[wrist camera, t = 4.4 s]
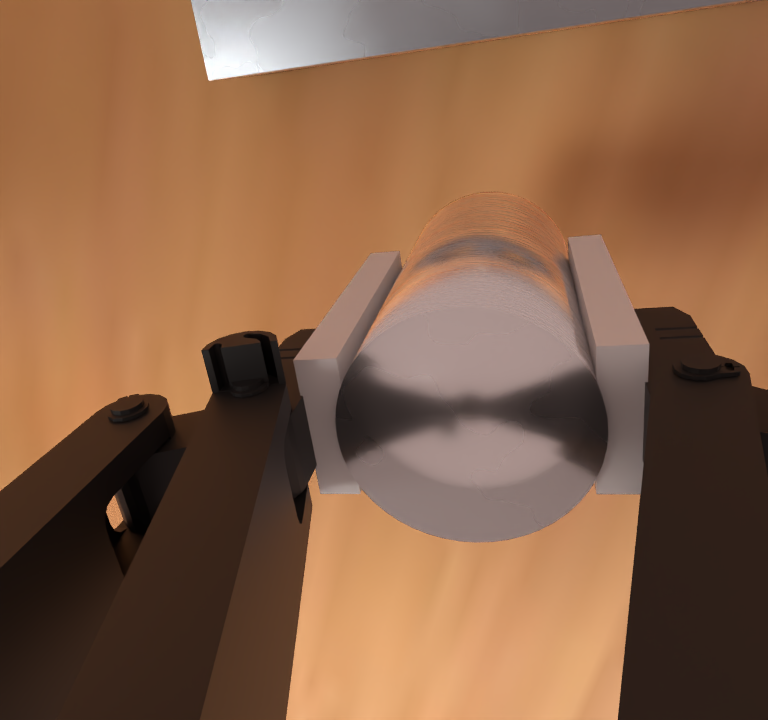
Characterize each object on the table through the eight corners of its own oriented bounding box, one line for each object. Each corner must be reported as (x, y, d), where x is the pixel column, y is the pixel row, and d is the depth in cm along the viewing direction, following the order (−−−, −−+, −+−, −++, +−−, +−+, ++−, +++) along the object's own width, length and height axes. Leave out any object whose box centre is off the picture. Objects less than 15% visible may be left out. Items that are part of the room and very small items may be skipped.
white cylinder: (420, 344, 20) (355, 539, 12) (404, 199, 18) (315, 316, 10) (570, 337, 19) (607, 545, 11) (567, 184, 17) (610, 299, 9)
